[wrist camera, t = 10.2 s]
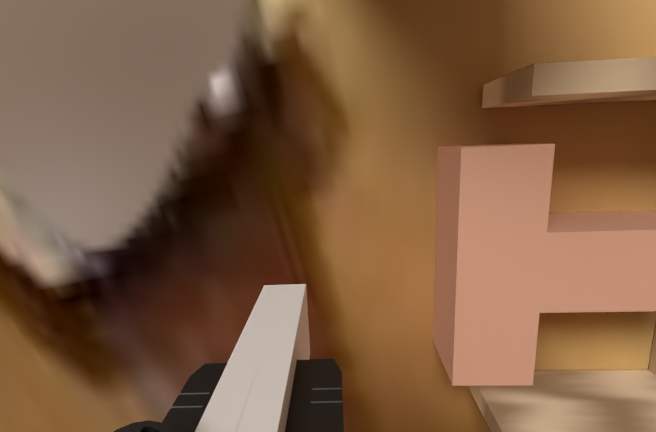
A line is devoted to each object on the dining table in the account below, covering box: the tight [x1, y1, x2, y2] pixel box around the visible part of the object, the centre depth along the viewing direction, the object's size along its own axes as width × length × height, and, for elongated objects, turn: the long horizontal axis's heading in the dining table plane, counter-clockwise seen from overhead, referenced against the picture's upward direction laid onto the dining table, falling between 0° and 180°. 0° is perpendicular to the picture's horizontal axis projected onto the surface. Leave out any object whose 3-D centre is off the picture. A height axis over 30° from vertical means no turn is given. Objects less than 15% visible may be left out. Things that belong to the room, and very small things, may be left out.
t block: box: [433, 144, 656, 386], centre depth 18 cm, size 12×12×4 cm
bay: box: [469, 57, 656, 432], centre depth 17 cm, size 12×18×5 cm, turn 3°
